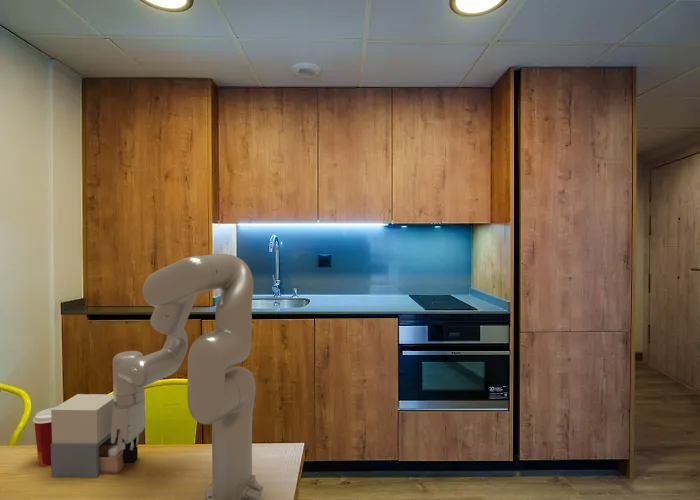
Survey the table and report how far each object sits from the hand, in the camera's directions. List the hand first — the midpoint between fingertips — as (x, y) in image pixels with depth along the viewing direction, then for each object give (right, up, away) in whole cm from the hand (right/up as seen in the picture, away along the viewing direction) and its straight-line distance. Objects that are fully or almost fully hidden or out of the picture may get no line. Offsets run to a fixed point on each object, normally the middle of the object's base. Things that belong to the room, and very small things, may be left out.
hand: (130, 461), depth 115 cm
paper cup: (-24, -1, +2) cm, 24 cm away
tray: (-9, -1, 0) cm, 9 cm away
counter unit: (-12, -1, 0) cm, 12 cm away
